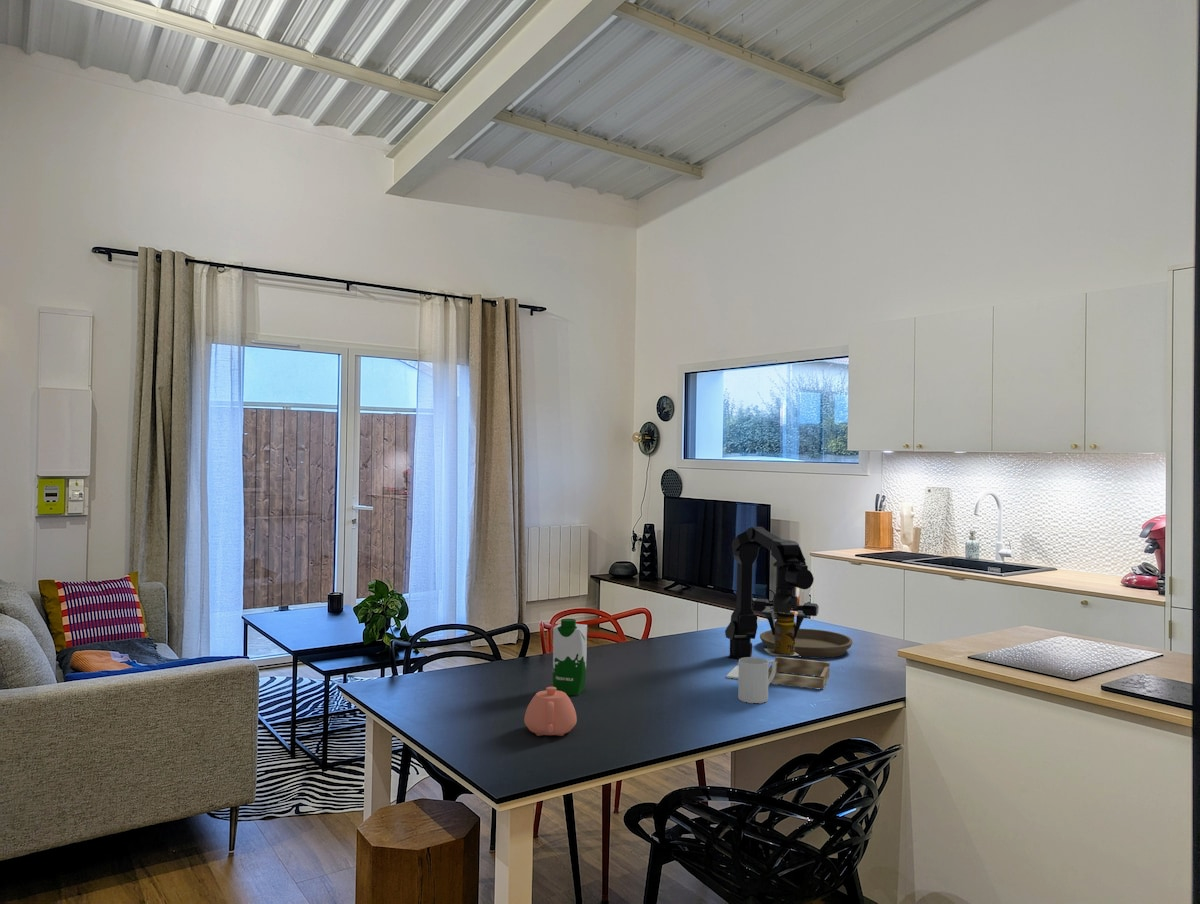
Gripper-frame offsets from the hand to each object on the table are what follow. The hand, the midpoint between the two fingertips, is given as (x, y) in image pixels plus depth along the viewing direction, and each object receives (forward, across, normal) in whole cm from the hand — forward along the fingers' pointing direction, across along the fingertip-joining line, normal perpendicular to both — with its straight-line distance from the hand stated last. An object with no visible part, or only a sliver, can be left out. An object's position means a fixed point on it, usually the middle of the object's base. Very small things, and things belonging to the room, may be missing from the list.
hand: (784, 636), depth 242 cm
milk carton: (+13, -52, -40) cm, 67 cm away
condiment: (+5, -1, 0) cm, 5 cm away
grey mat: (+13, -11, 0) cm, 16 cm away
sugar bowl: (+12, -43, -73) cm, 85 cm away
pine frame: (+12, +4, 0) cm, 13 cm away
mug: (+12, -3, -24) cm, 28 cm away
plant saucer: (+14, +1, +42) cm, 45 cm away
